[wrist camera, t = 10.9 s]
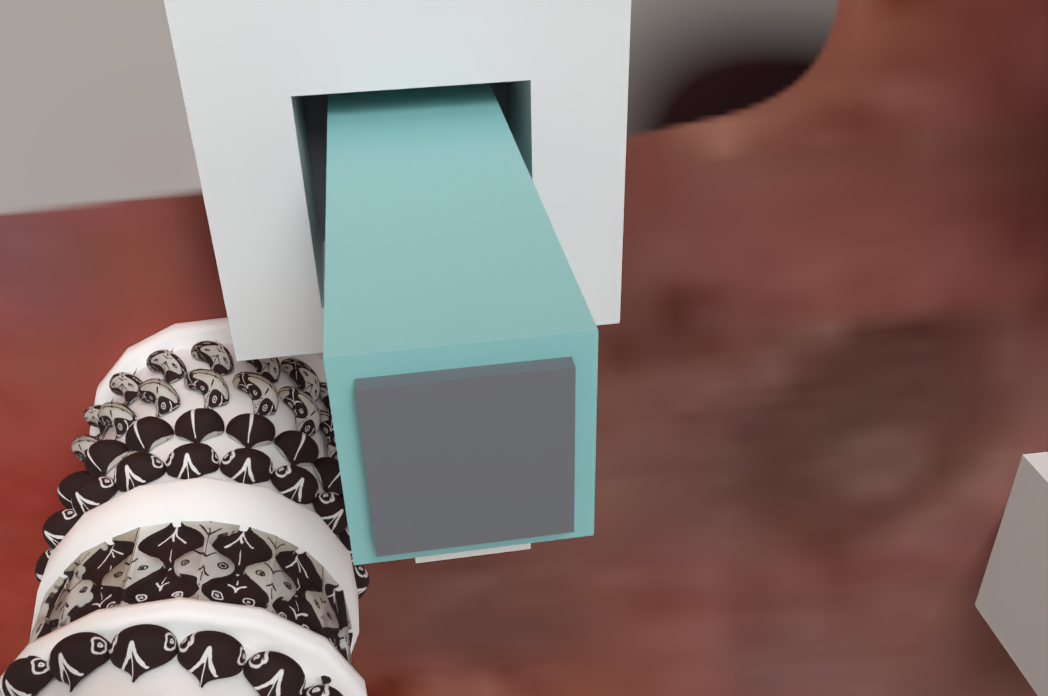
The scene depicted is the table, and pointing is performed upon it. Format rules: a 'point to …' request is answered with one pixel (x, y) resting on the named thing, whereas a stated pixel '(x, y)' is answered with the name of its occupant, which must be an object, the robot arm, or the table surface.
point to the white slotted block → (385, 64)
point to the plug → (451, 334)
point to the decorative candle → (199, 534)
